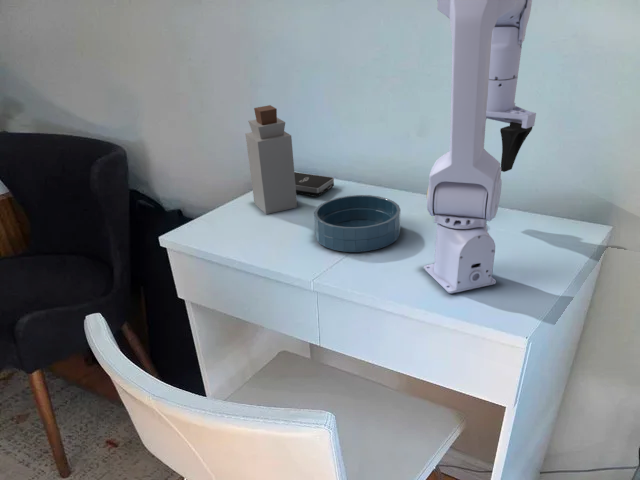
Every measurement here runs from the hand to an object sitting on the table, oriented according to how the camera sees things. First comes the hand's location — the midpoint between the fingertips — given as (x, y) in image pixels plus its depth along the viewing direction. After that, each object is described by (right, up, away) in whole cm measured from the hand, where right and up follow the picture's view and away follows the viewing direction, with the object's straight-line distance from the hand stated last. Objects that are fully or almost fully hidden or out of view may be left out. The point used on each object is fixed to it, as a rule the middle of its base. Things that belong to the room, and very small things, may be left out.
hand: (488, 165), depth 105 cm
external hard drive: (-33, +5, +25) cm, 41 cm away
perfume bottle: (-38, 0, +19) cm, 43 cm away
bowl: (-22, -11, +5) cm, 25 cm away
